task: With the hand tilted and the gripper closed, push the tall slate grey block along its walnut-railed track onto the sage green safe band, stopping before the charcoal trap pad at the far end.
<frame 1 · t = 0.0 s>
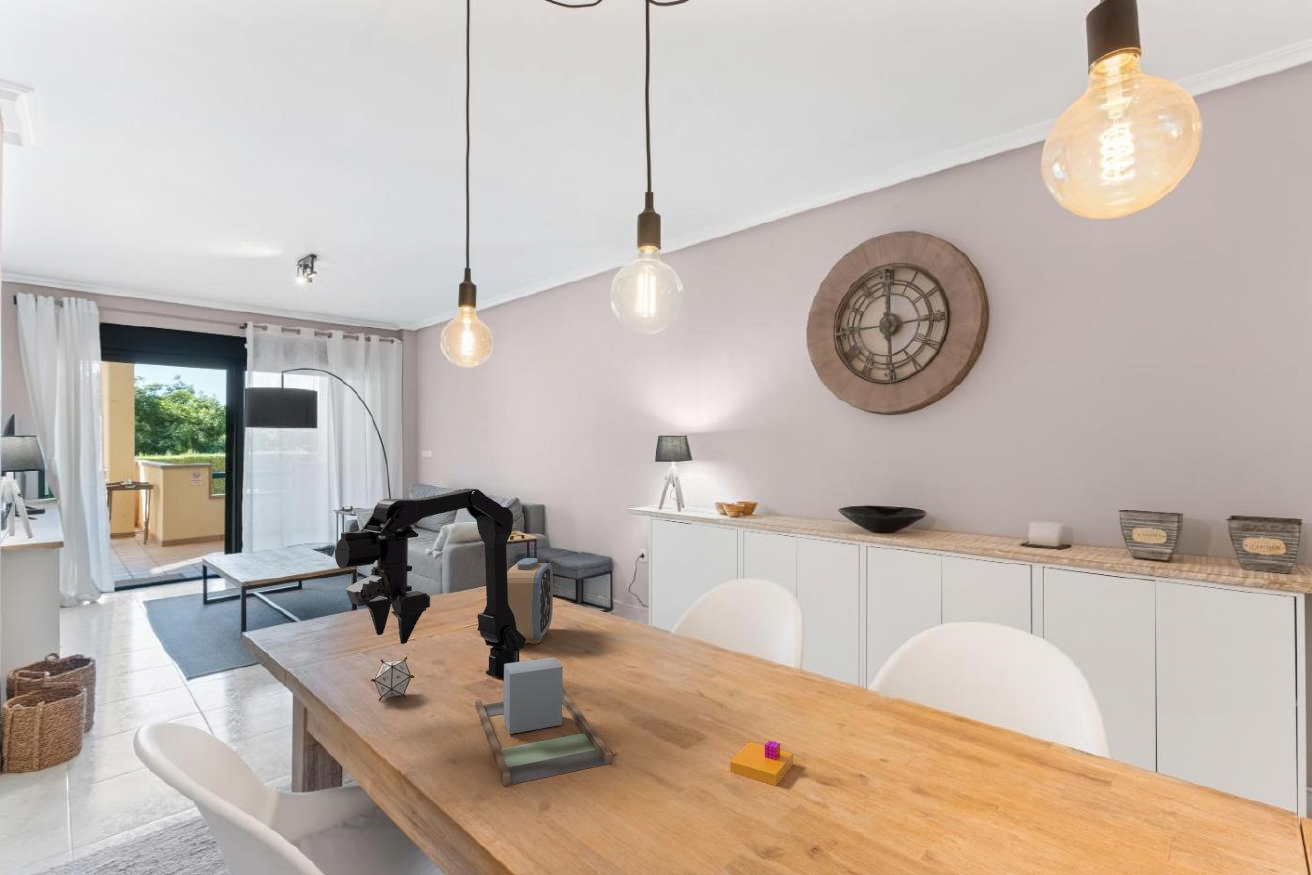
hand: (391, 639, 124), 15 cm above the table, tool pointing down, fingers open, 9 cm apart
flat orange slab: (762, 771, 103), on the table
game die: (392, 698, 131), on the table
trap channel: (546, 749, 108), on the table
slate block: (533, 693, 119), point 6 cm above the table, slide at 0.0 cm
alarm clock: (529, 638, 174), on the table
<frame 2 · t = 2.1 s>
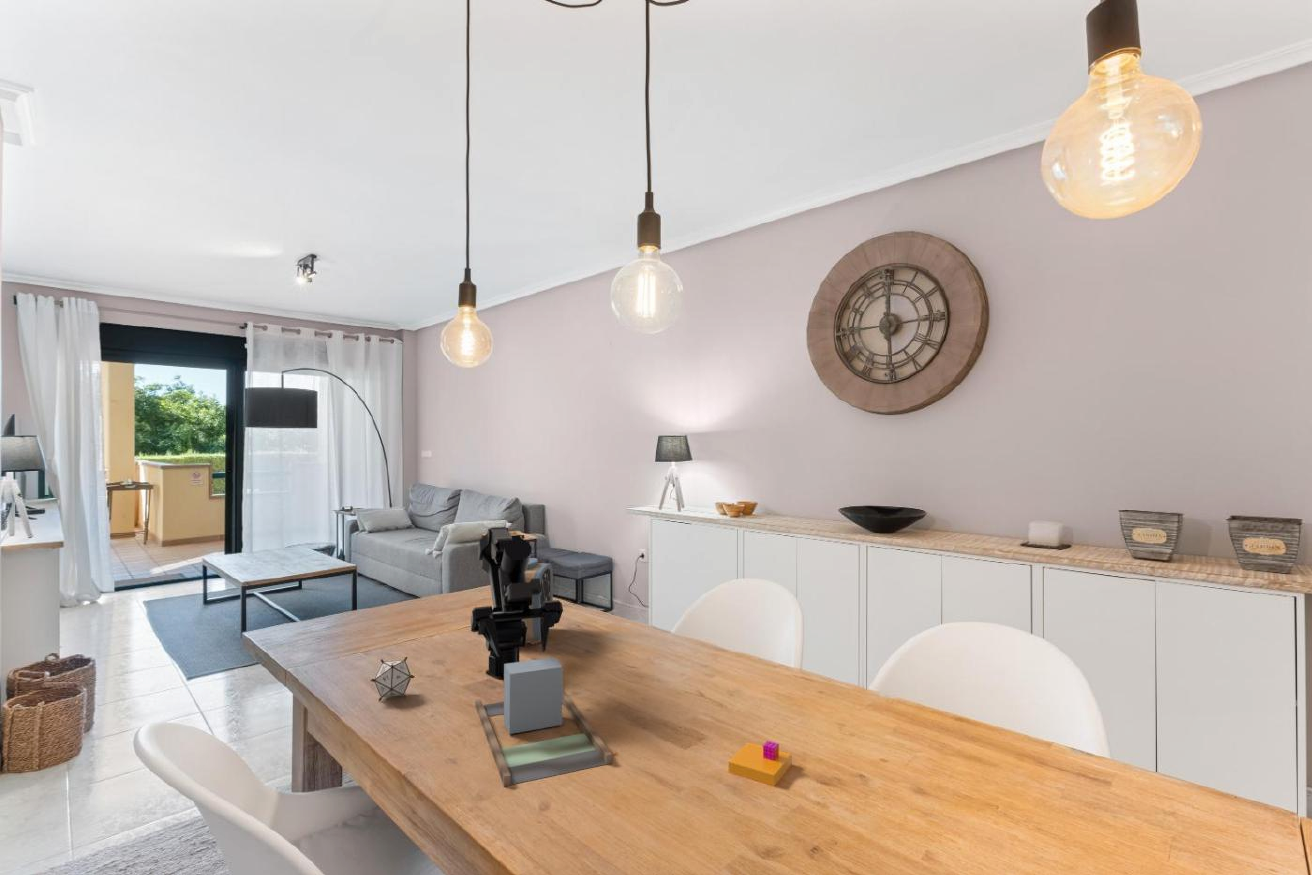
hand: (521, 653, 125), 11 cm above the table, tool tilted 45°, fingers open, 9 cm apart
nothing on the table moved.
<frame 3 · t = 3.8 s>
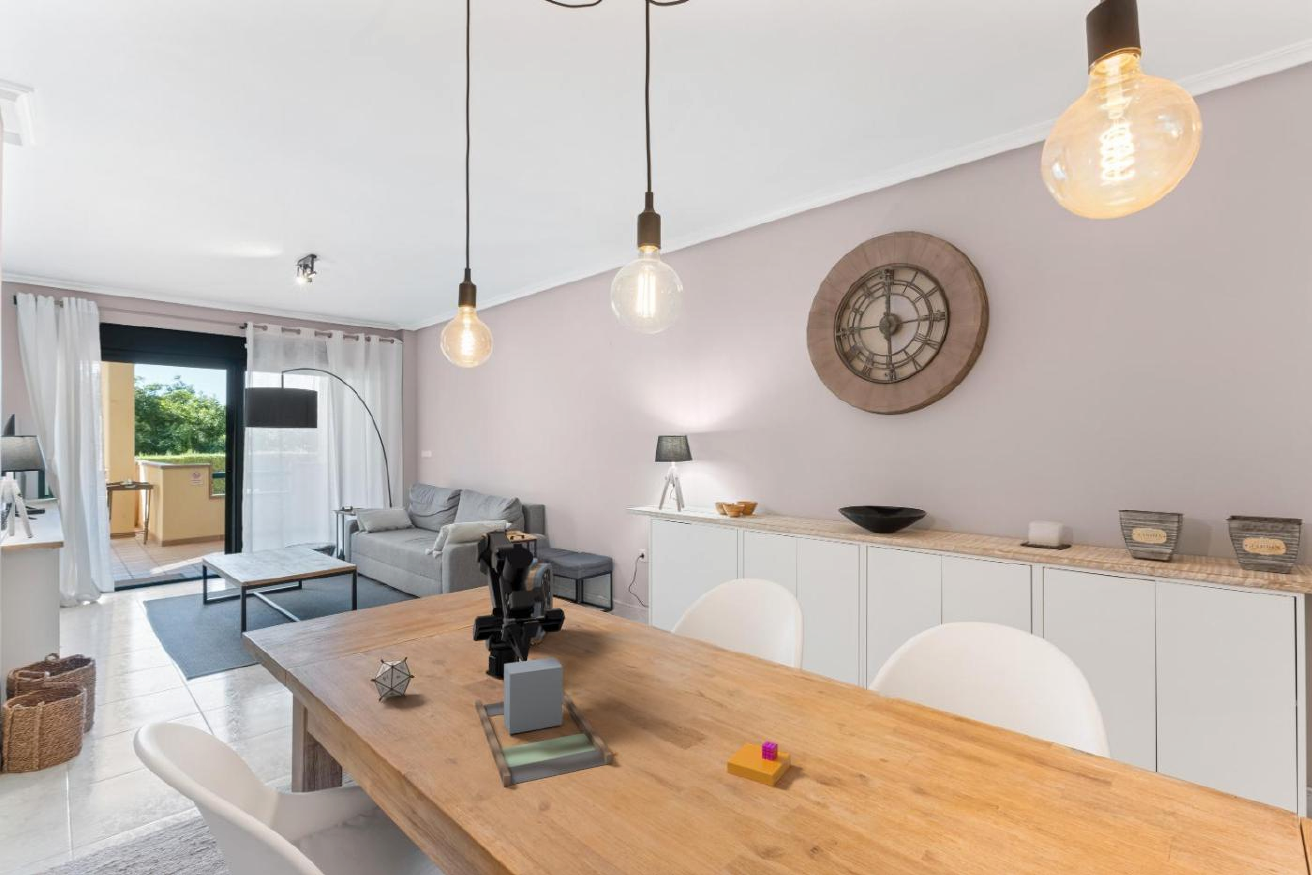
hand: (525, 661, 126), 10 cm above the table, tool tilted 45°, fingers closed
nothing on the table moved.
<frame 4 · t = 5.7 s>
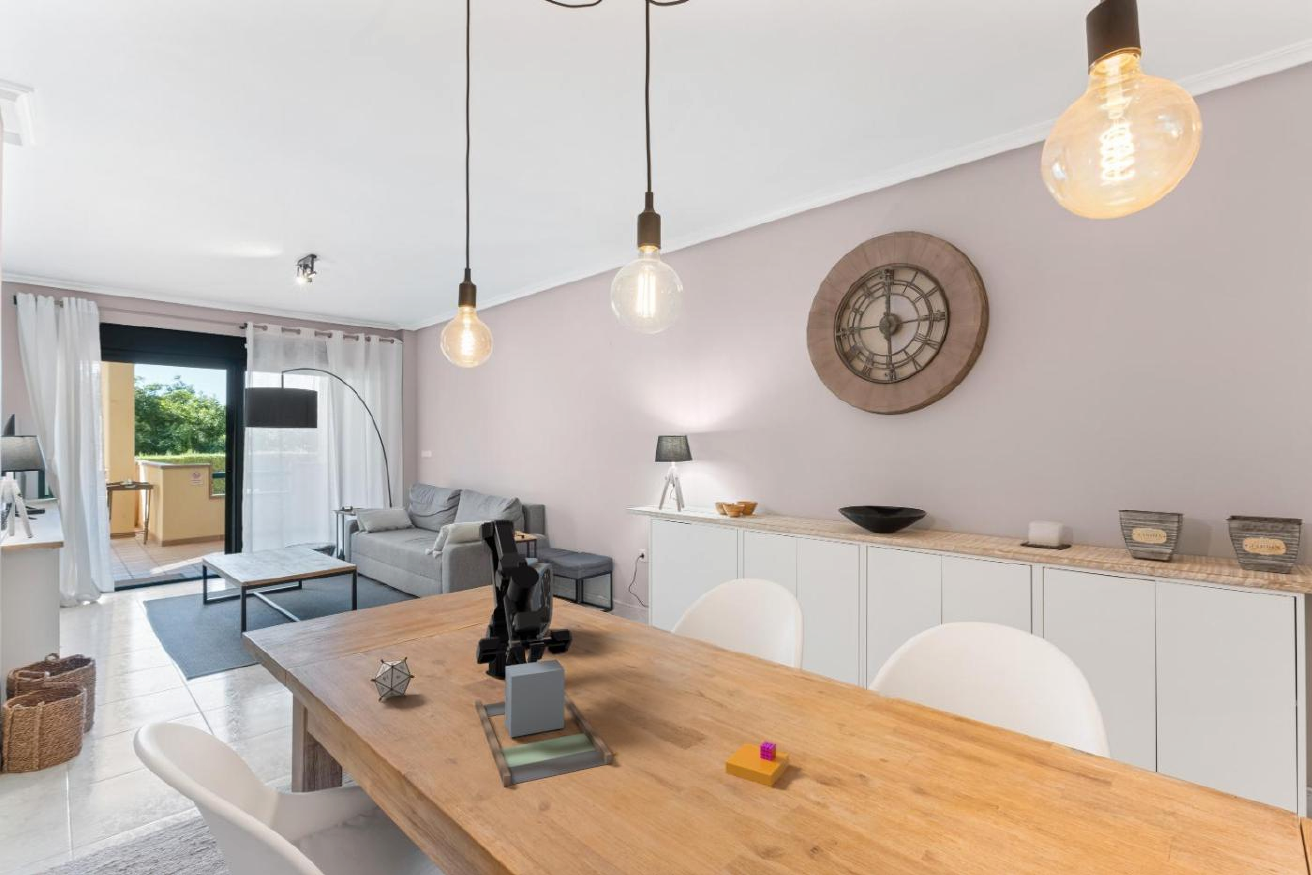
hand: (530, 685, 120), 7 cm above the table, tool tilted 45°, fingers closed, pressing on slate block
slate block: (534, 696, 117), point 6 cm above the table, slide at 1.4 cm, touching gripper
everything else where it was.
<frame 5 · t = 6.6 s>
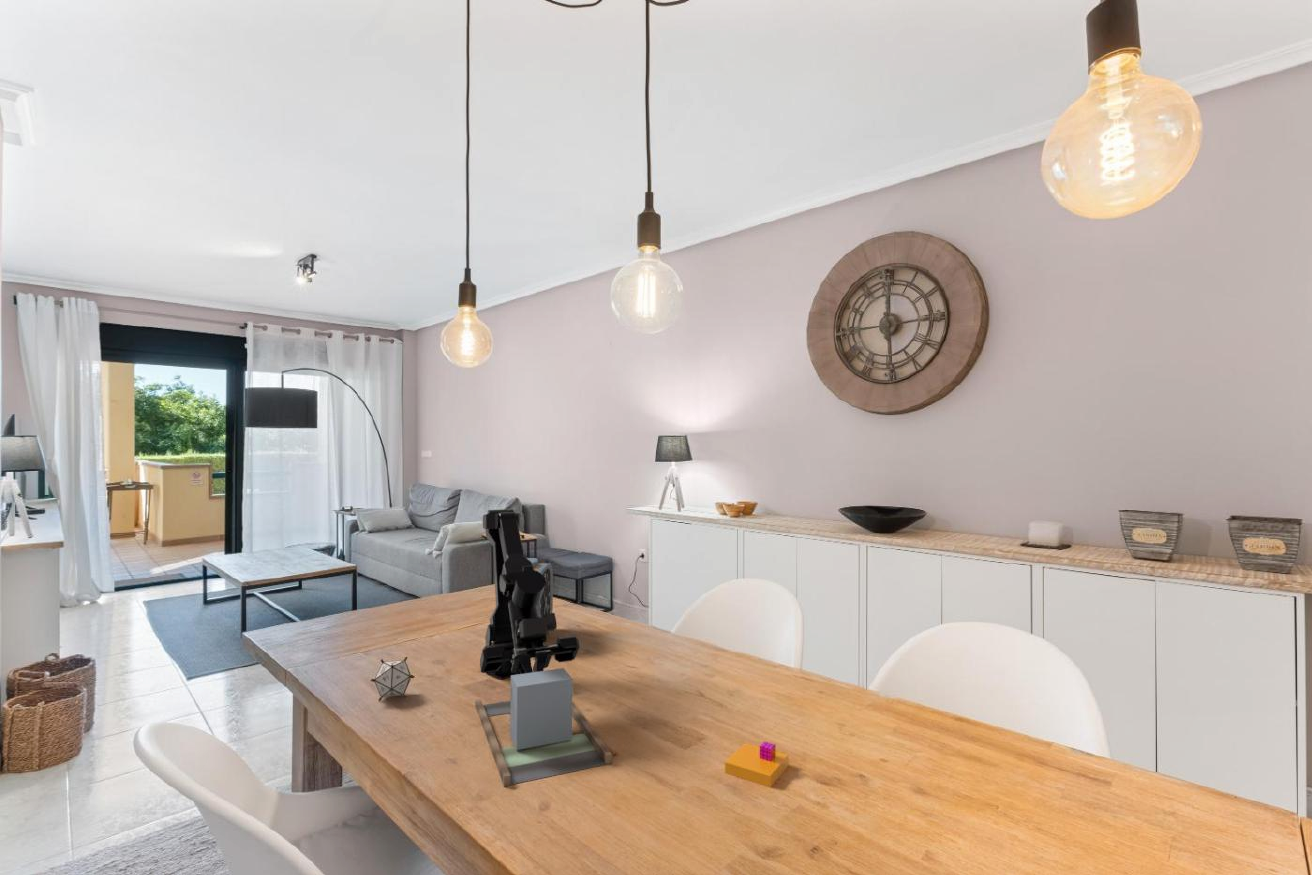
hand: (537, 695, 116), 7 cm above the table, tool tilted 45°, fingers closed, pressing on slate block
slate block: (541, 707, 113), point 6 cm above the table, slide at 6.7 cm, touching gripper
everything else where it was.
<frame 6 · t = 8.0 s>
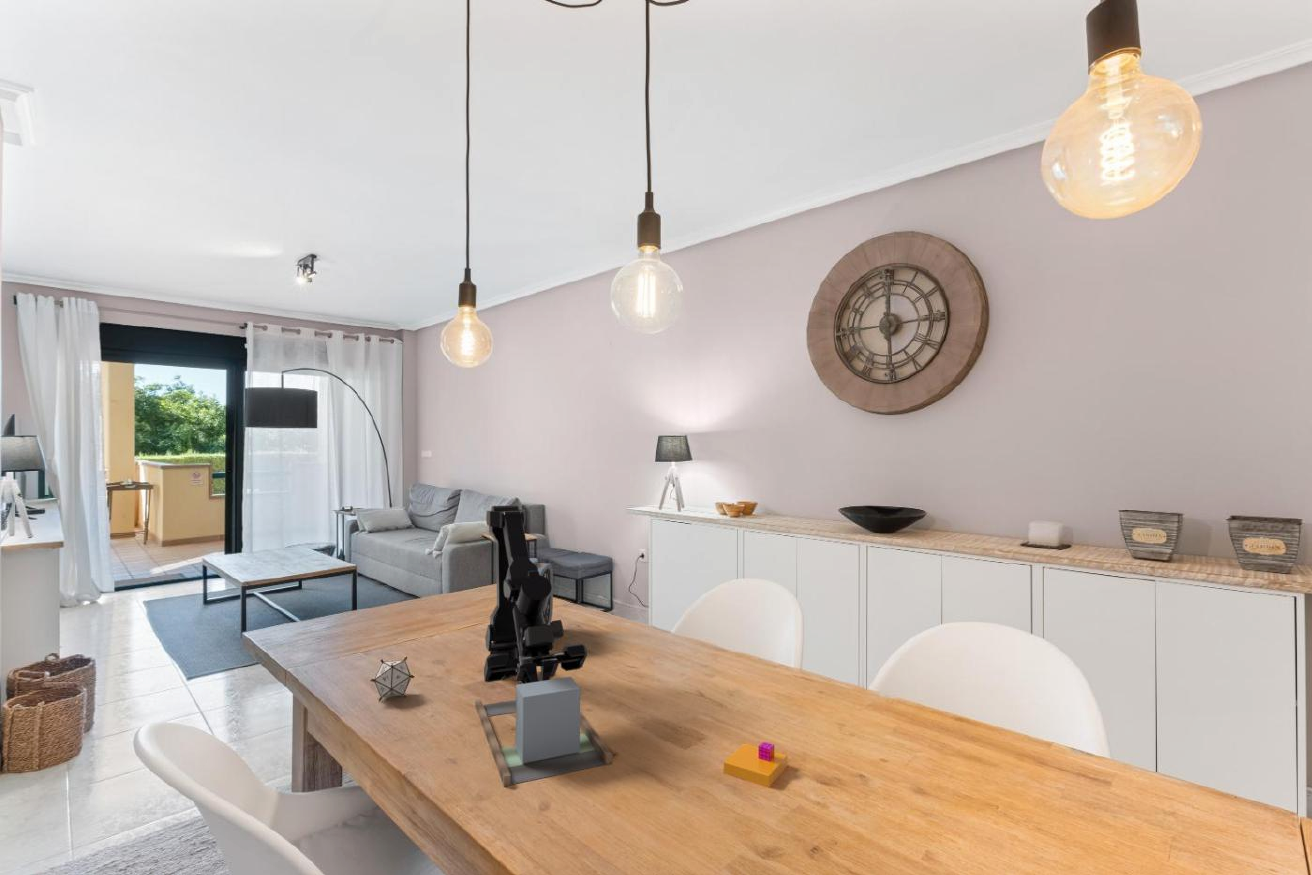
hand: (543, 705, 111), 7 cm above the table, tool tilted 45°, fingers closed
slate block: (547, 718, 108), point 6 cm above the table, slide at 11.7 cm
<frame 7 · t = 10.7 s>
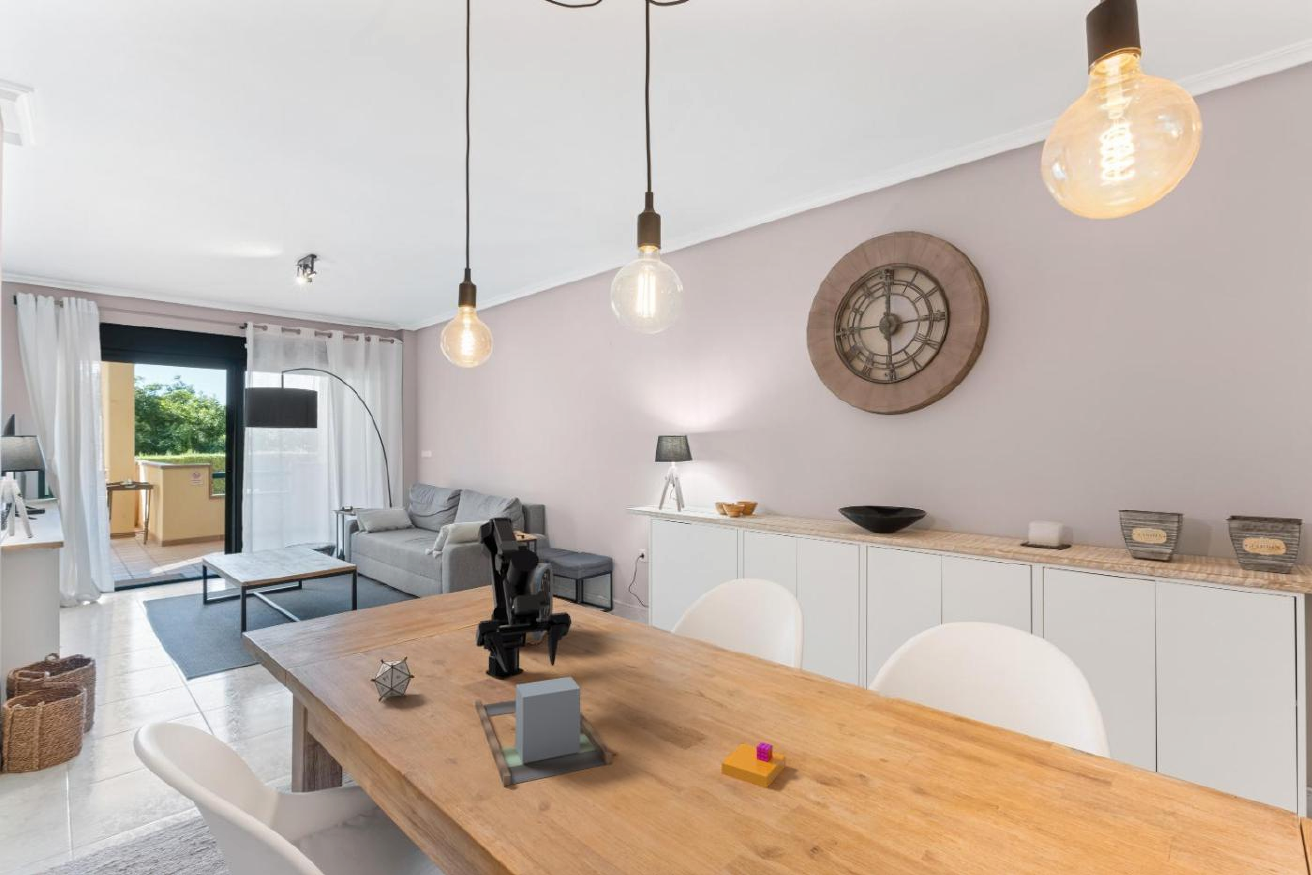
hand: (530, 667, 121), 10 cm above the table, tool tilted 45°, fingers open, 9 cm apart
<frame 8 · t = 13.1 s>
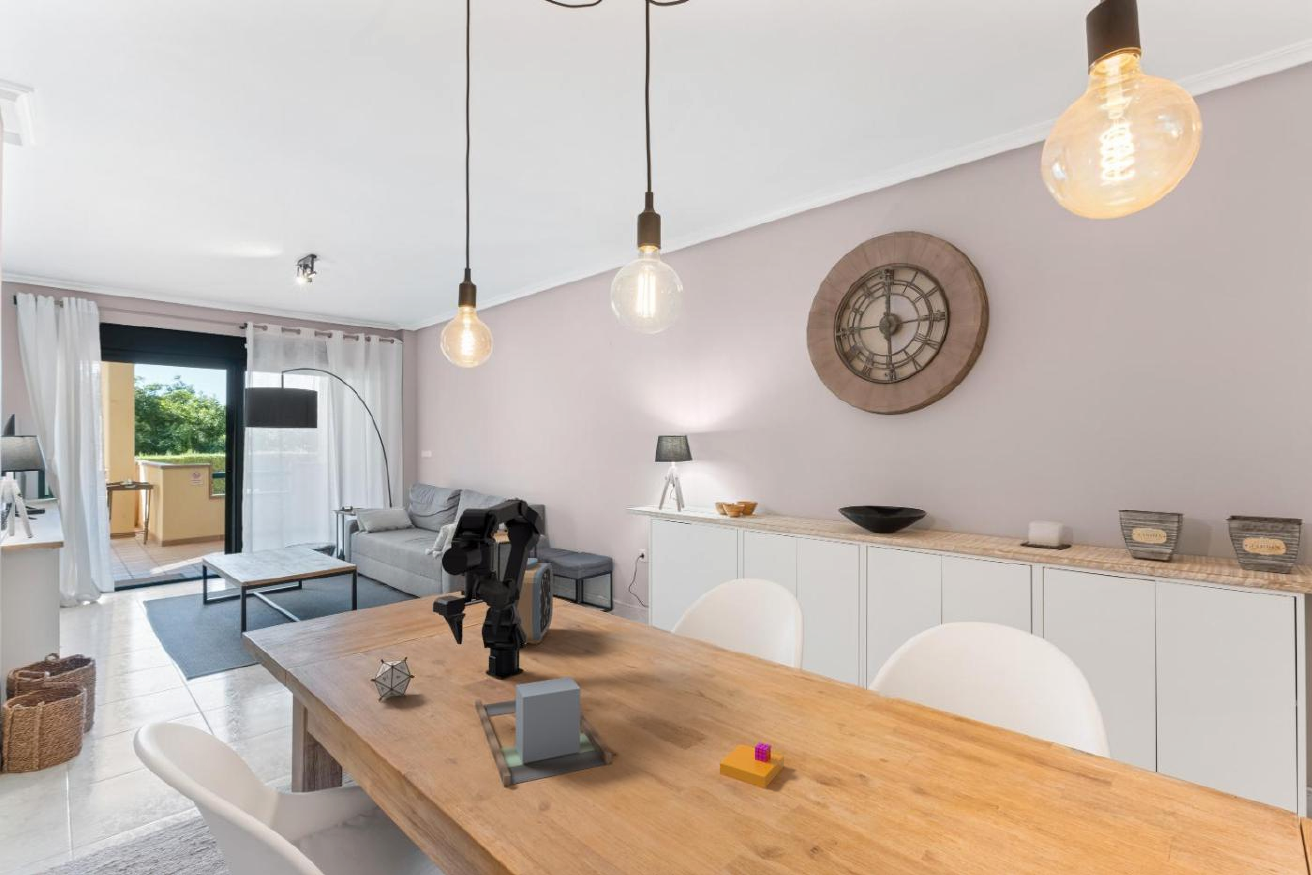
hand: (477, 638, 133), 12 cm above the table, tool pointing down, fingers open, 9 cm apart
at the end: slate block slide at 11.7 cm; the gripper is holding nothing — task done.
